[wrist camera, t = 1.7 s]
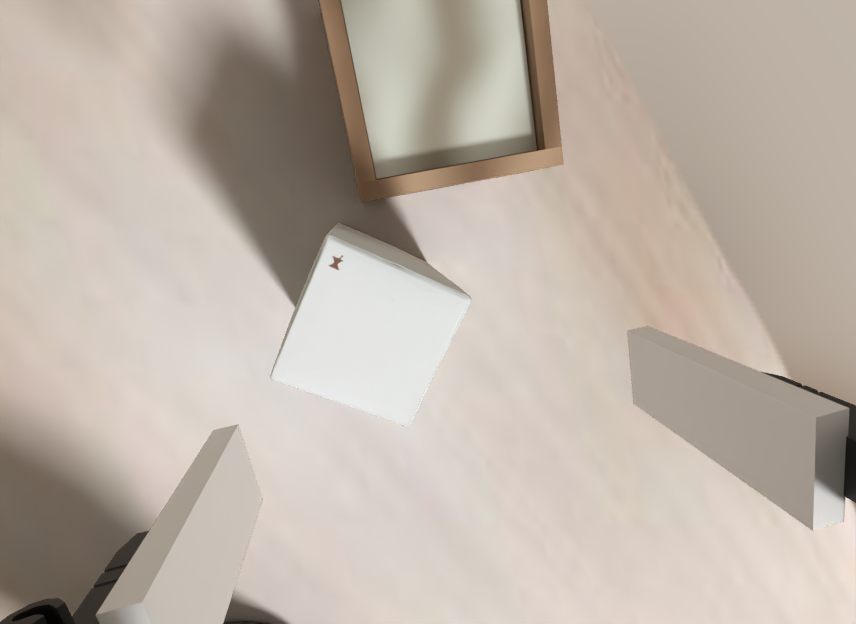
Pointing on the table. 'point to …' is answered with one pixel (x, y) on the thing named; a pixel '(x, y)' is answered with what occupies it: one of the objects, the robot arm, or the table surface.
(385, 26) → the brown square open box
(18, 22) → the table surface
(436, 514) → the table surface
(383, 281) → the supplement box
